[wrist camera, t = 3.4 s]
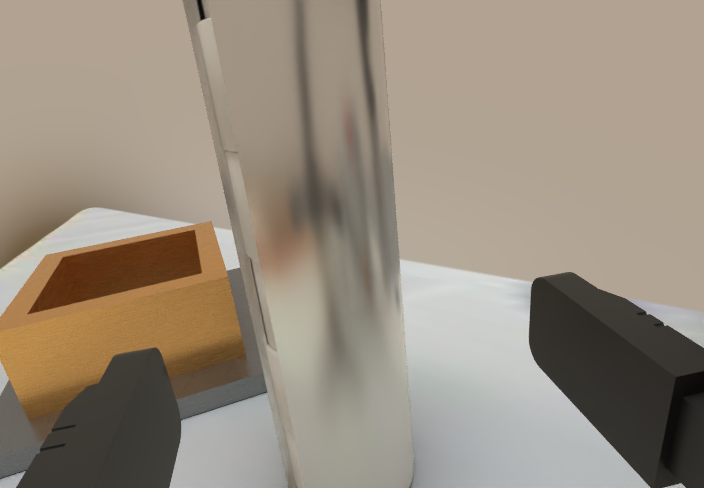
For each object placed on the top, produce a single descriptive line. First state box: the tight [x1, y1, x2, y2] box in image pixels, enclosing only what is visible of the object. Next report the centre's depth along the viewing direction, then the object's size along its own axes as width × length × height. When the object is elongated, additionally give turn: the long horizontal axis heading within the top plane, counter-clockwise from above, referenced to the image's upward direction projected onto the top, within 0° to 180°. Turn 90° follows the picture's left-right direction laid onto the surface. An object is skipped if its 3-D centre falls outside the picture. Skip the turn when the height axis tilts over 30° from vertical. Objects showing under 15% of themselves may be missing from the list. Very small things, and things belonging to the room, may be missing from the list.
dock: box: [0, 221, 267, 478], centre depth 34 cm, size 18×18×8 cm
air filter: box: [183, 0, 414, 488], centre depth 18 cm, size 6×6×25 cm
